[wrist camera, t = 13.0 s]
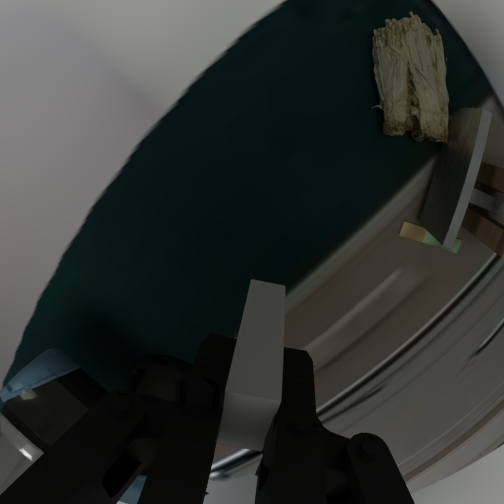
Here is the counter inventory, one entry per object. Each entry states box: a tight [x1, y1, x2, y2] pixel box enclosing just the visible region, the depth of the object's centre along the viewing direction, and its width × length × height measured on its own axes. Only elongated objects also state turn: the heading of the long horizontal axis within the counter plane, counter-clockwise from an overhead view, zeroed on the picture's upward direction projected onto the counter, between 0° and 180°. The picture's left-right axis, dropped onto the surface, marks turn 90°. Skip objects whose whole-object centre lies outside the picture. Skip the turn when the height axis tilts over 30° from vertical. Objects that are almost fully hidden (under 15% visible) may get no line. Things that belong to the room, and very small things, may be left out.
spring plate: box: [419, 108, 504, 249], centre depth 27 cm, size 10×14×7 cm
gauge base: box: [399, 162, 504, 258], centre depth 28 cm, size 12×12×10 cm
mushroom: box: [372, 11, 449, 142], centre depth 26 cm, size 14×10×5 cm, turn 6°
